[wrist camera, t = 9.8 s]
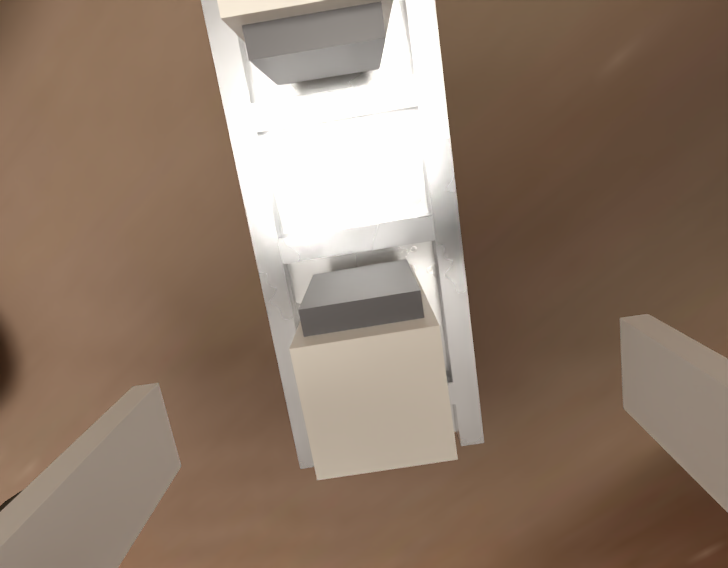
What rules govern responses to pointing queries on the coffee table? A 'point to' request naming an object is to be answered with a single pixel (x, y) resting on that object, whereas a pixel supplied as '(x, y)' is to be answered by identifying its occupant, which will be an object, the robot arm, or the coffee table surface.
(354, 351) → the beige jaw block
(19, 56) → the coffee table surface
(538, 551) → the coffee table surface
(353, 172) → the rail
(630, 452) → the coffee table surface
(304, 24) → the block
